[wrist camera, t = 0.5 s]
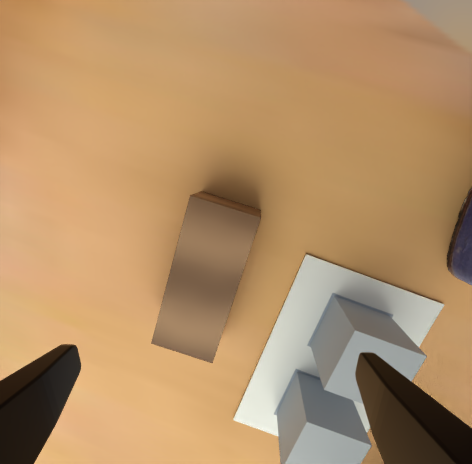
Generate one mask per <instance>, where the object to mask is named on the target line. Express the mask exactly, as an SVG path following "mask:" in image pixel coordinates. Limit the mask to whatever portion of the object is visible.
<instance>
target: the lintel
mask: <svg viewBox="0 0 472 464" xmlns="http://www.w3.org/2000/svg"><path fill="white" fill-rule="evenodd" d="M260 219H261V210H259V209H256V208H252V207H249V206H246V205H243V204H240V203H237V202H233V201H230V200H227V199H224V198H221V197H218V196H214V195H211V194H208V193H205V192H202V191H201V192H198V193H196V194H193V195H190V198H189V202H188V206H187V210H186V213H185V217H184V221H183V225H182V229H181V232H180V236H179V240H178V244H177V248H176V251H175V255H174V259H173V263H172V266H171V270H170V274H169V278H168V282H167V285H166V289H165V293H164V297H163V301H162V304H161V308H160V312H159V316H158V320H157V323H156V327H155V331H154V335H153V339H152V342H151V344H154V345H158V346H161V347H164V348H167V349H170V350H173V351H176V352H179V353H182V354H185V355H189V356H192V357H195V358H198V359H201V360H204V361H207V362H210V363H213V360H214V357H215V354H216V351H217V348H218V345H219V342H220V339H221V336H222V333H223V330H224V327H225V324H226V321H227V318H228V315H229V312H230V309H231V306H232V303H233V300H234V297H235V294H236V291H237V288H238V285H239V282H240V279H241V276H242V273H243V270H244V267H245V264H246V261H247V258H248V255H249V252H250V249H251V246H252V243H253V240H254V237H255V234H256V231H257V228H258V225H259V222H260Z"/></svg>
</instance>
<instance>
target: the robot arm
mask: <svg viewBox="0 0 472 464" xmlns="http://www.w3.org/2000/svg"><path fill="white" fill-rule="evenodd" d="M80 370H81V362H80V357H79V353H78V349H77V347H76V345H72V344H63V345H60V346H58V347H57V348H55V349H53V350H51V351H50V352H48V353H46V354H45V355H43V356H41V357H40V358H38V359H36V360H35V361H33V362H31V363H30V364H28V365H26V366H25V367H23V368H21V369H20V370H18V371H16V372H15V373H13V374H11V375H9V376H8V377H6V378H4V379H3V380H1V381H0V464H34V462H35V461H36V459H37V457H38V455H39V454H40V452H41V450H42V448H43V447H44V445H45V443H46V441H47V439H48V438H49V436H50V434H51V432H52V430H53V429H54V427H55V425H56V423H57V421H58V419H59V417H60V415H61V413H62V410H63V408H64V406H65V404H66V402H67V399H68V397H69V395H70V393H71V391H72V388H73V386H74V384H75V382H76V380H77V377H78V375H79V373H80ZM355 377H356V382H357V385H358V388H359V392H360V395H361V398H362V401H363V405H364V408H365V411H366V415H367V418H368V421H369V425H370V428H371V431H372V434H373V436H374V439H375V442H376V444H377V447H378V449H379V451H380V454H381V456H382V459H383V461H384V464H472V428H470V427H469V426H468V425H467V424H465V423H464V422H463V421H461V420H460V419H459V418H458V417H456V416H455V415H454V414H452V413H451V412H450V411H449V410H447V409H446V408H445V407H443V406H442V405H441V404H440V403H438V402H437V401H436V400H434V399H433V398H432V397H431V396H429V395H428V394H427V393H425V392H424V391H423V390H422V389H420V388H419V387H418V386H416V385H415V384H414V383H413V382H411V381H410V380H409V379H407V378H406V377H405V376H404V375H402V374H401V373H400V372H398V371H397V370H396V369H395V368H393V367H392V366H391V365H389V364H388V363H387V362H386V361H384V360H383V359H382V358H380V357H379V356H378V355H377V354H375V353H372V352H361V353H360V354H359V357H358V361H357V366H356V371H355Z"/></svg>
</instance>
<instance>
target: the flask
mask: <svg viewBox="0 0 472 464" xmlns="http://www.w3.org/2000/svg"><path fill="white" fill-rule="evenodd" d="M447 257H448V258H447V260H448V261H447V264H448V265H447V267H448V270H449V271H450V272H451V273H452V274H453V275H454V276H455V277H456V278H458V279H460V280H462V281H465V282H466V283H468V284H470V285H472V188H471V189H470V191H469V192H468V196H467V198H466V199H465V200H464V203H463V205H462V209H461V211H460V213H459V219H458V222H457V224H456V225H455V231H454V233H453V236H452V240H451V243H450V246H449V252H448V255H447Z"/></svg>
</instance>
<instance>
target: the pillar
mask: <svg viewBox="0 0 472 464" xmlns="http://www.w3.org/2000/svg"><path fill="white" fill-rule="evenodd" d="M277 424H278V437H279V450H280V462H281V464H361V462H362V460H363V459H364V457H365V456H366V454H367V452H368V451H369V449H370V448H371V446H372V445H371V442H370V440H369V438H368V435H367V433H366V430H365V428H364V426H363V423H362V421H361V418H360V416H359V414H358V411H357V409H356V406H355V404H354V402H353V400H351V399H348V398H345V397H343V396H340V395H337V394H334V393H332V392H329V391H326V390H324V389H323V385H322V382H321V380H318V379H316V378H313V377H310V376H307V375H305V374H302V373H299V372H297V373H296V375H295V377H294V379H293V381H292V383H291V385H290V387H289V389H288V391H287V393H286V395H285V398H284V400H283V402H282V404H281V406H280V408H279V410H278V412H277Z"/></svg>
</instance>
